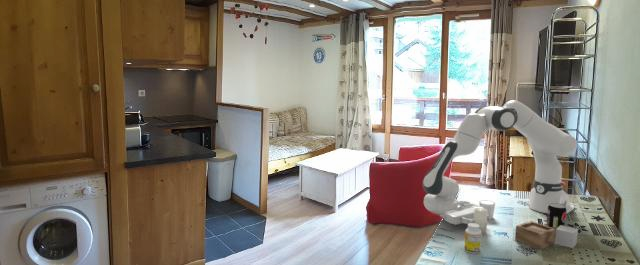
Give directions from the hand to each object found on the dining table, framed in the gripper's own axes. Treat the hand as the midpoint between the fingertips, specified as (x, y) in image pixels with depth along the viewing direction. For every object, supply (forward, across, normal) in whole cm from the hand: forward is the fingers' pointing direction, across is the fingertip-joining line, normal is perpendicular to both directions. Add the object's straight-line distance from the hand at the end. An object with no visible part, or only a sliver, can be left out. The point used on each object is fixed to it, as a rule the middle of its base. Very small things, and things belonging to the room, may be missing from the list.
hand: (480, 220), depth 161 cm
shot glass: (-11, +19, +6) cm, 23 cm away
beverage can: (+16, +27, +6) cm, 32 cm away
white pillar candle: (0, 0, +6) cm, 6 cm away
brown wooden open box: (+17, +11, +6) cm, 21 cm away
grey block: (+24, +20, +6) cm, 32 cm away
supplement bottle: (+10, -17, +6) cm, 21 cm away
